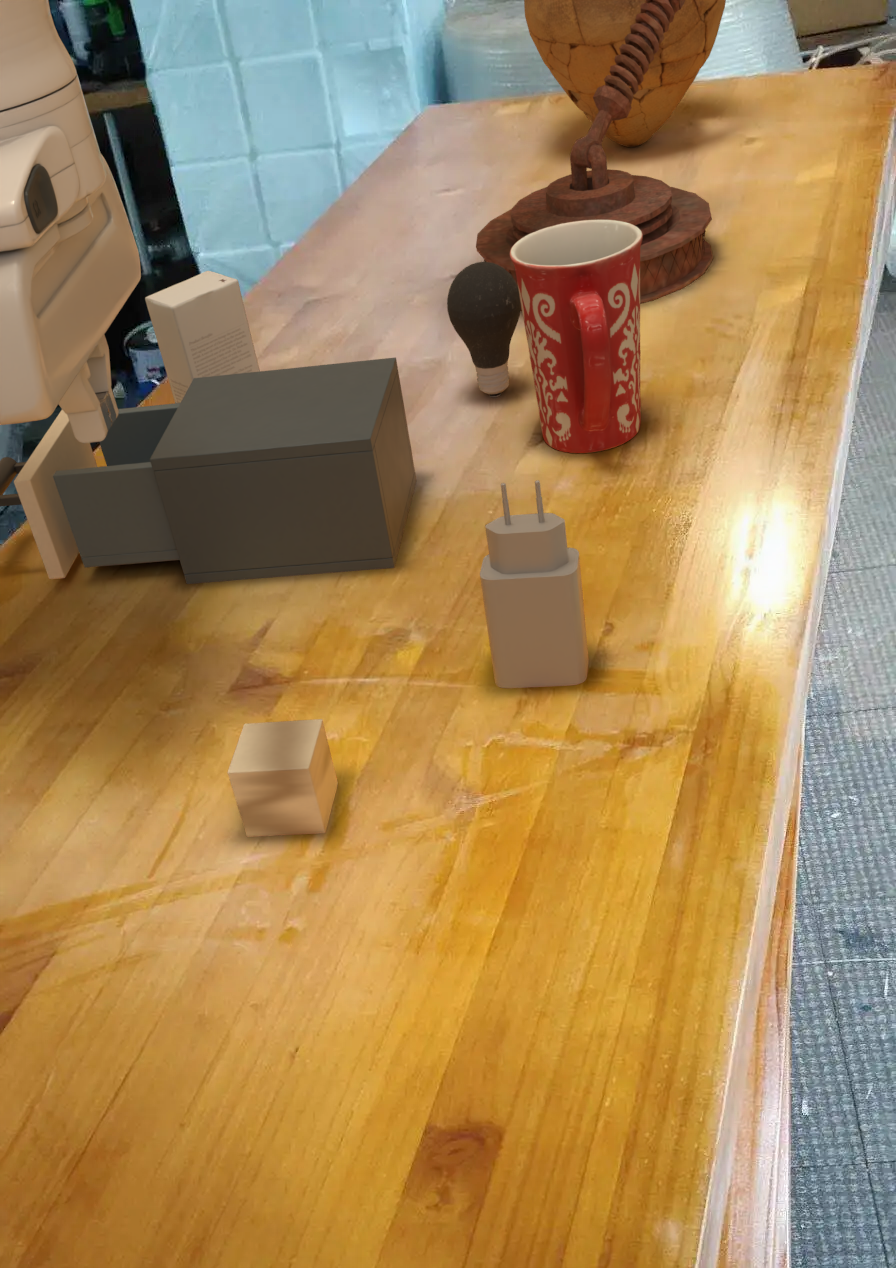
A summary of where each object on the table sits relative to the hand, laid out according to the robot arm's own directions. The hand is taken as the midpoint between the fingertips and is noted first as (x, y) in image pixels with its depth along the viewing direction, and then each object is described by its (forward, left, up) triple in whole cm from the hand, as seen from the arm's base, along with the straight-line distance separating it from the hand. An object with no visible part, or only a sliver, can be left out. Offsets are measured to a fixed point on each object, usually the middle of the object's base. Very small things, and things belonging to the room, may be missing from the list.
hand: (99, 431), depth 82 cm
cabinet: (+5, +17, -16) cm, 24 cm away
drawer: (-8, +17, -15) cm, 24 cm away
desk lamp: (+23, +61, -16) cm, 68 cm away
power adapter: (+23, -3, -16) cm, 28 cm away
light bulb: (+17, +37, -16) cm, 44 cm away
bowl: (+27, +98, -16) cm, 103 cm away
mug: (+25, +27, -16) cm, 41 cm away
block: (+10, -15, -16) cm, 24 cm away
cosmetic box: (-4, +33, -16) cm, 37 cm away
